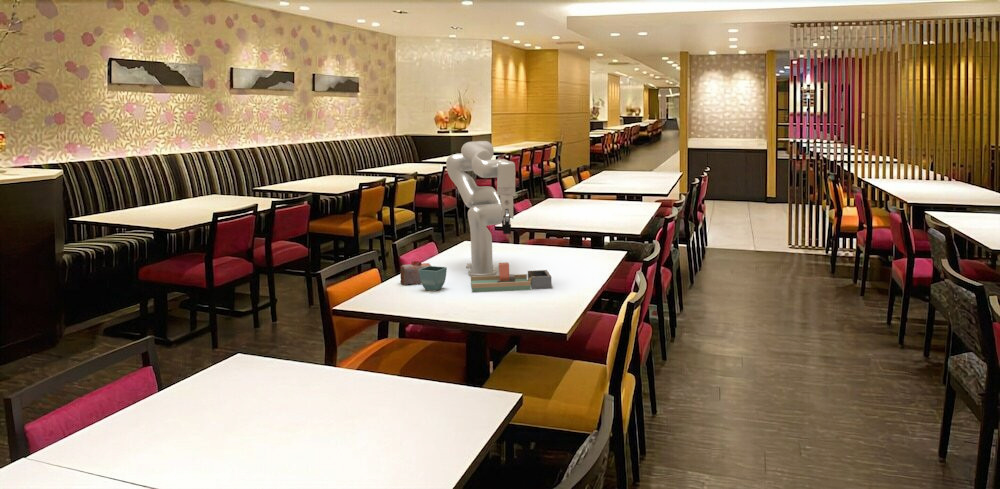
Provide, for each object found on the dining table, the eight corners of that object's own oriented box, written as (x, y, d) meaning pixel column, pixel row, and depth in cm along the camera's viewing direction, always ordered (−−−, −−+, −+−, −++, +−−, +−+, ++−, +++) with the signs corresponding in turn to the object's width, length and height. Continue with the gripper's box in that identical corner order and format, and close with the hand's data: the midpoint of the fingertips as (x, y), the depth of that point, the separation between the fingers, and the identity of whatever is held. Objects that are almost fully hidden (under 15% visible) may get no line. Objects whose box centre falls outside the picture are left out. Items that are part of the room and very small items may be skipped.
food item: (429, 279, 336) (428, 257, 334) (435, 283, 328) (434, 260, 327) (399, 283, 330) (398, 261, 328) (405, 286, 323) (404, 264, 321)
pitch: (472, 292, 309) (472, 284, 308) (470, 284, 324) (470, 276, 323) (530, 289, 311) (530, 281, 310) (526, 281, 325) (526, 274, 325)
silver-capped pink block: (497, 283, 314) (497, 264, 313) (496, 281, 319) (496, 262, 317) (515, 283, 315) (514, 264, 314) (514, 280, 319) (513, 262, 318)
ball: (526, 286, 318) (526, 276, 317) (532, 284, 321) (531, 274, 320) (534, 286, 315) (534, 277, 315) (540, 284, 319) (539, 275, 318)
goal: (531, 289, 311) (531, 277, 311) (528, 282, 325) (527, 270, 324) (551, 288, 312) (551, 276, 311) (546, 281, 325) (546, 269, 324)
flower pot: (448, 287, 318) (447, 266, 317) (437, 292, 310) (436, 271, 309) (429, 286, 322) (429, 265, 320) (419, 290, 314) (418, 269, 312)
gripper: (516, 194, 307) (516, 235, 310) (514, 188, 324) (514, 227, 327) (498, 194, 306) (498, 235, 310) (496, 188, 323) (496, 227, 327)
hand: (506, 231), depth 319 cm, fingers open, 9 cm apart
